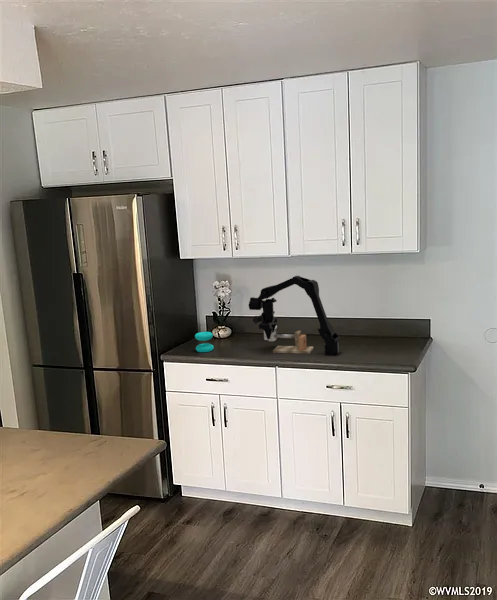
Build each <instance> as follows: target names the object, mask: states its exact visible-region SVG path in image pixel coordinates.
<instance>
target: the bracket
mask: <svg viewBox="0 0 497 600" xmlns="http://www.w3.org/2000/svg"><path fill="white" fill-rule="evenodd" d="M294 334H295V338H294V343H295V345H277V346H276V347H275V348H274V349H273V350H272V353H274V354H275V353H276V354H280V353H281V354H308V355H309V354H311V353H312V352H313V350H314V346H307V347H306V348H305V349H304V350H299V337H300V336H301V335H302V330H296V331H295V332H294Z"/></svg>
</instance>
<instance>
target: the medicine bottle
mask: <svg viewBox="0 0 497 600" xmlns="http://www.w3.org/2000/svg"><path fill="white" fill-rule="evenodd" d="M273 323H274V324H277V323H276V322H273ZM274 331H276V334H279V329H278V325H276V327H275V330H274ZM263 339H264V341H269V339H267V336H266V334H265V331H264V330H263ZM277 339H278V338H276V340H277Z"/></svg>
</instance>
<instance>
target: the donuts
mask: <svg viewBox="0 0 497 600" xmlns="http://www.w3.org/2000/svg"><path fill="white" fill-rule="evenodd" d="M213 336H214V334H213V333H212V332H211V331H200V332H197V333H195V335H194V338H195V340H197V341H201V342H202V341H209V340H211V339H213ZM214 347H215V346H214V345H213V344H211V343H209V342H205V343H200V344H198V345H196V346H195V351H196V352H198V353H209V352H212V351H213V350H214V349H215V348H214Z"/></svg>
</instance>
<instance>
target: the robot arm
mask: <svg viewBox="0 0 497 600" xmlns="http://www.w3.org/2000/svg"><path fill="white" fill-rule="evenodd" d="M293 285H296V286H298V287H299V288H301V289H303V290H304V291H305V294H306V295H307V297H309V299H310V300H311V302H312V305H313V309H314V311H315V314H316V317H317V320H318V323H319V327H318V328H317V331H318V333H319V337H321V339H322V340H323V341H324V353H325V355H326V356H327V355H328V356H338V355H339V353H340V349H339V348H340V345H339V340H340V336H339V335H338V333H336V331H335V328H334V326H333V325H332V324H331V323H330V322H329V319H328V317H327V314H326V311H325V308H324V306H323V303H322V300H321V297H320V288H319V283H318V281H317V280H315V279H308V278H305V277H303V276H300V275H294V276H292V277H291V278H289V279H287V280H285V281H283V282H280V283H278V284H273V285H269V286H265V287H263V288H262V289H261V290H260V294H259V296H258V297H250V298H249V302H248V308H249V311H250V310H251V311H261V310H262V312H261V314H259V315H255V316H253V318H252V322H253V323H254V324H255V325H257V324H258V323H259V324H258V329H259V330H263V332H264V331H265V334H266V336H267V339H270V336H271V332H272V331H274V330H275V327H276V326H278V325H277V324H278V323H280V321H279V317H278V316H275V315H274V314H275V313H276V311H274V303H276V302H277V301H278V300H277V299H276V298H275V297H273V296H274V295H276V294H278V293H279V292H280V291H282V290H283V291H284V289H287V288H289V287H291V286H293ZM273 322H275V323H276V324H274V323H273Z"/></svg>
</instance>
